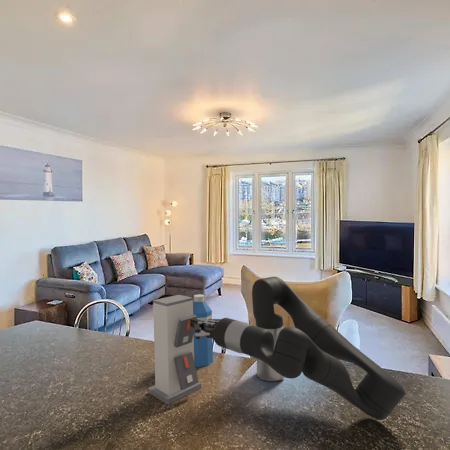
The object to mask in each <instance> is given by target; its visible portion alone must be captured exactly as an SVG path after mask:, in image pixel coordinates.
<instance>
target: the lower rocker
mask: <svg viewBox="0 0 450 450" xmlns="http://www.w3.org/2000/svg"><path fill="white" fill-rule="evenodd" d="M174 360H175V365H176V370H177V374H178V379H179V384H180V389H181V390H184V389H186V388H188V387H190V386H192V385H195V384H197V383H199V379H198V378H199V377H198V374H197V370H196V366H195V363H194V359H193V354H192V352H189V353H187V354H184V355H182V356H179V357H176V358H174Z"/></svg>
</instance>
